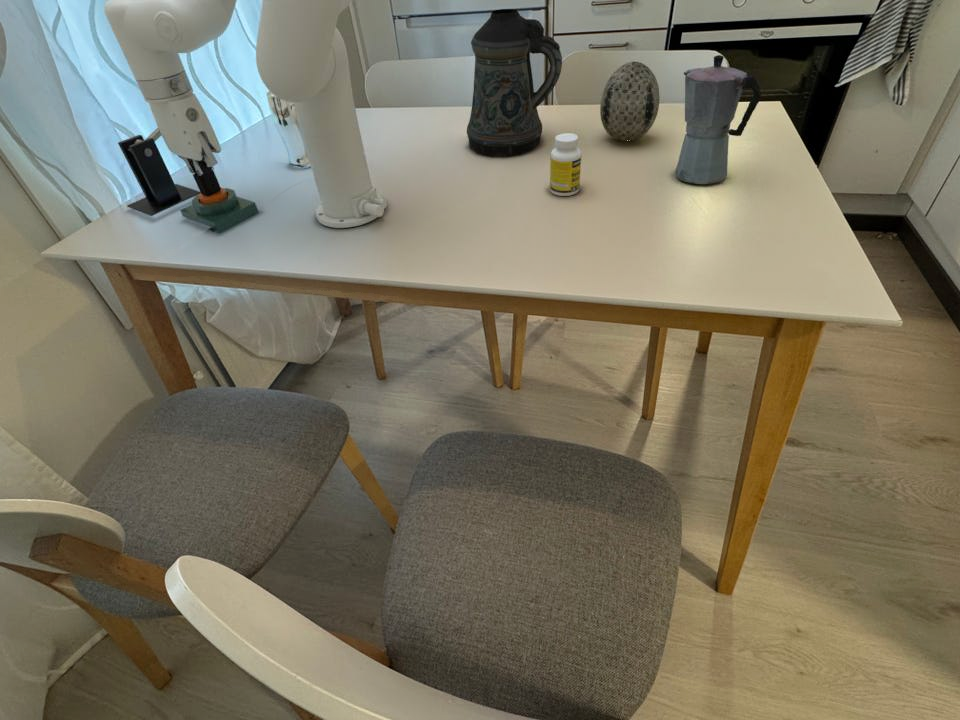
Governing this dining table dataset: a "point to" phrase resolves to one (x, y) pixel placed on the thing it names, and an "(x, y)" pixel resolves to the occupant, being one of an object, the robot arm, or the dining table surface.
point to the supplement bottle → (565, 165)
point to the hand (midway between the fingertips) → (211, 192)
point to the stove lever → (154, 135)
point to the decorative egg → (630, 102)
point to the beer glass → (289, 130)
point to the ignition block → (221, 212)
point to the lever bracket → (152, 177)
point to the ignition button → (213, 197)
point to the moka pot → (712, 120)
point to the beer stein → (509, 84)
